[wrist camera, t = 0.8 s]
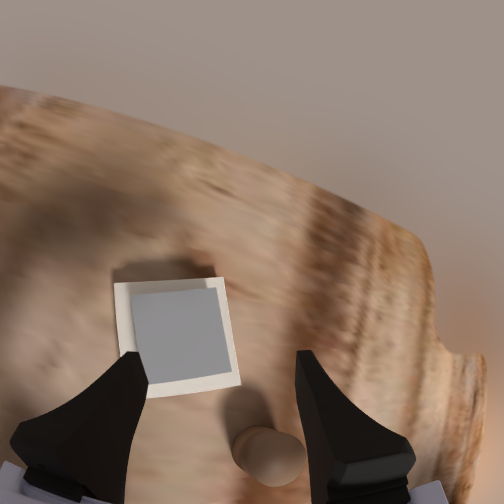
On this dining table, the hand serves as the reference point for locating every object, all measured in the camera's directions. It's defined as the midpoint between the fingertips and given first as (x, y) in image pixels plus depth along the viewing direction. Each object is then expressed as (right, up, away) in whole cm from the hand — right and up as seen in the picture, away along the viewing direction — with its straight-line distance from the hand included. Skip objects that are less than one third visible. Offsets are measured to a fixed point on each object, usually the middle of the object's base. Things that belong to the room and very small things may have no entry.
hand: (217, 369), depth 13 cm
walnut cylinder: (+2, -14, +13) cm, 19 cm away
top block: (-5, -2, +12) cm, 13 cm away
